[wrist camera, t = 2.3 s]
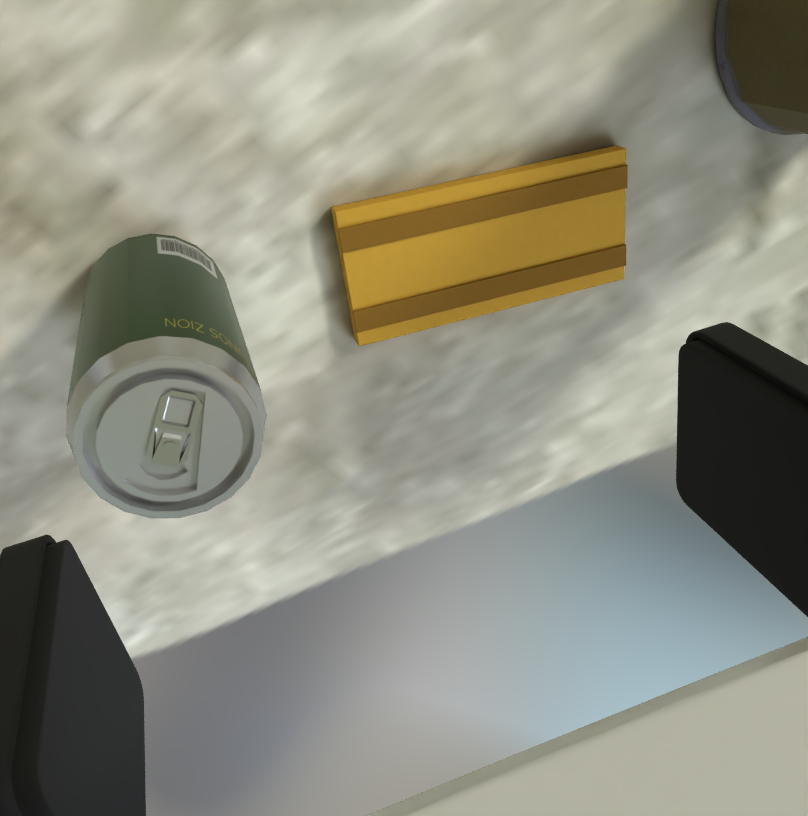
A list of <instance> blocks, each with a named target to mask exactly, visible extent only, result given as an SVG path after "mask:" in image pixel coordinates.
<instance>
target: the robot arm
mask: <svg viewBox="0 0 808 816" xmlns="http://www.w3.org/2000/svg"><path fill="white" fill-rule="evenodd" d="M676 472H677V473H676V482H677V489H678V492H679V494H680V496H681V498H682V500H683V501H684V502H685V503H686V505H687V506H688V507H690V508H691V509H692V510H693V511H694V512H695V513H696V514H697V515H698V516H699V517H700V518H701V519H702V520H704V521H705V522H706V523H707V524H708V525H709V526H710V527H711V528H713V530H714V531H715V532H717V533H718V534H719V535H720V536H721V537H722V538H723V539H724V540H725V541H726V542H727V543H728V544H729V545H731V546H732V547H733V548H734V549H735V550H736V551H737V552H738V553H739V554H740V555H741V556H742V557H743V558H745V559H746V560H747V561H748V562H749V563H750V564H751V565H752V566H753V567H754V568H755V569H756V570H758V571H759V572H760V573H761V574H762V575H763V576H764V577H765V578H766V579H767V580H768V581H769V582H770V583H772V584H773V585H774V586H775V587H776V588H777V589H778V590H779V591H780V592H781V593H782V594H783V595H785V596H786V597H787V598H788V599H789V600H790V601H791V602H792V603H793V604H794V605H795V606H797V607H798V608H799V609H800V610H801V611H802V612H803V613H804V614H805V615H806V616H807V617H808V365H806V364H804V363H802V362H800V361H799V360H797V359H795V358H793V357H791V356H789V355H788V354H786V353H784V352H782V351H780V350H779V349H777V348H775V347H773V346H771V345H770V344H768V343H766V342H764V341H762V340H761V339H759V338H757V337H755V336H753V335H752V334H750V333H748V332H746V331H744V330H743V329H741V328H739V327H737V326H735V325H734V324H731V323H728V322H725V323H720V324H717V325H714V326H711V327H708V328H704V329H701V330H698V331H695V332H692V333H691V334H690V335H689V336H688V338H687V340H686V344H684V345H683V346H682V347H681V348H680V350H679V364H678V416H677V470H676ZM144 748H145V745H144V697H143V689H142V684H141V681H140V678H139V675H138V672H137V670H136V668H135V666H134V664H133V662H132V660H131V658H130V656H129V654H128V652H127V651H126V649H125V647H124V645H123V643H122V641H121V639H120V637H119V635H118V633H117V631H116V629H115V627H114V625H113V623H112V621H111V619H110V617H109V616H108V614H107V612H106V610H105V608H104V606H103V604H102V602H101V600H100V598H99V596H98V594H97V592H96V590H95V588H94V586H93V584H92V582H91V581H90V579H89V577H88V575H87V573H86V571H85V569H84V567H83V565H82V563H81V561H80V559H79V557H78V555H77V553H76V551H75V549H74V548H73V546H72V544H71V543H70V542H69V541H68V540H64V541H61V542H57V543H56V542H55V540H54V539H53V538H52V537H51V536H50V535H44V536H41V537H38V538H34V539H31V540H28V541H25V542H22V543H19V544H15V545H12V546H9V547H6V548H4V549H3V550H2V553H1V555H0V816H146V804H145V749H144ZM366 816H808V637H806V638H804V639H801V640H799V641H796V642H794V643H791V644H789V645H786V646H784V647H781V648H779V649H776V650H774V651H771V652H769V653H766V654H764V655H761V656H759V657H756V658H753V659H751V660H748V661H746V662H743V663H741V664H739V665H736V666H734V667H731V668H728V669H726V670H724V671H721V672H718V673H716V674H713V675H711V676H708V677H706V678H703V679H701V680H698V681H696V682H693V683H691V684H688V685H686V686H683V687H681V688H678V689H676V690H673V691H671V692H669V693H666V694H664V695H661V696H659V697H656V698H654V699H651V700H649V701H646V702H644V703H641V704H639V705H636V706H634V707H631V708H629V709H626V710H624V711H621V712H619V713H617V714H614V715H611V716H609V717H606V718H604V719H602V720H599V721H597V722H594V723H592V724H589V725H587V726H584V727H582V728H579V729H577V730H574V731H572V732H570V733H567V734H565V735H562V736H560V737H557V738H555V739H552V740H550V741H547V742H545V743H542V744H540V745H537V746H535V747H532V748H530V749H528V750H525V751H523V752H520V753H518V754H515V755H513V756H510V757H508V758H505V759H503V760H500V761H498V762H495V763H493V764H491V765H488V766H486V767H483V768H481V769H478V770H476V771H474V772H471V773H469V774H466V775H464V776H462V777H459V778H457V779H454V780H452V781H449V782H447V783H444V784H442V785H440V786H437V787H435V788H432V789H430V790H427V791H425V792H422V793H420V794H418V795H415V796H413V797H410V798H408V799H405V800H403V801H400V802H398V803H396V804H393V805H391V806H388V807H386V808H383V809H381V810H379V811H376V812H374V813H371V814H369V815H366Z"/></svg>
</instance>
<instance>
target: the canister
mask: <svg viewBox="0 0 808 816" xmlns="http://www.w3.org/2000/svg"><path fill="white" fill-rule="evenodd" d="M715 40H716V56H717V63H718V68H719V73H720V76H721V79H722V81H723V84H724V87H725V89H726V92H727V94H728V97H729V100H730V102H731V103H732V104H733V105H734V107H735V108H736V109H737V110H738V111H739V113H740V114H741V115H742V116H743V117H744V118H745V119H746V120H748V121H749V122H750V123H752V124H753V125H754V126H757V127H759V128H761V129H764V130H766V131H769V132H771V133H776V134H782V135H791V134H802V133H806V134H808V0H720V1H719V4H718V9H717V19H716V29H715Z"/></svg>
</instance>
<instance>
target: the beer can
mask: <svg viewBox="0 0 808 816" xmlns="http://www.w3.org/2000/svg"><path fill="white" fill-rule="evenodd" d="M265 423H266V411H265V407H264V402H263V398H262V394H261V389H260V386H259V383H258V380H257V377H256V374H255V371H254V368H253V365H252V362H251V359H250V356H249V353H248V350H247V347H246V343H245V340H244V337H243V334H242V331H241V328H240V325H239V322H238V319H237V316H236V313H235V310H234V307H233V304H232V300H231V297H230V294H229V291H228V288H227V285H226V282H225V279H224V277H223V275H222V274H221V272H220V270H219V269H218V267H217V266H216V264H215V262H214V261H213V259H211V258H210V257H209V256H208V255H207V254H205V253H204V252H203V251H202V250H201V249H200V248H198V247H197V246H196V245H194V244H191V243H189V242H187V241H184V240H182V239H180V238H177V237H175V236H167V235H158V234H147V235H142V236H137V237H132V238H128V239H126V240H124V241H122V242H120V243H119V244H117V245H115V246H113V247H111V248H109V249H108V250H107V251H106V252H105V253H104V254H103V256H102V257H101V258H100V259H99V260H98V261H97V262H96V263H95V264H94V266H93V268H92V271H91V273H90V276H89V278H88V281H87V283H86V286H85V293H84V299H83V306H82V312H81V319H80V325H79V332H78V338H77V345H76V351H75V358H74V364H73V371H72V377H71V384H70V390H69V397H68V403H67V427H66V436H67V439H68V442H69V444H70V447H71V449H72V452H73V455H74V457H75V460H76V462H77V465H78V467H79V470H80V473H81V475H82V478H83V479H84V480H85V481H86V482H87V483H88V485H89V486H90V487H91V488H92V489H93V490H94V491H95V492H96V493H97V495H98V496H99V497H100V498H102V499H103V500H105V501H107V502H109V503H110V504H112V505H114V506H115V507H117V508H119V509H121V510H122V511H124V512H128V513H132V514H136V515H140V516H144V517H148V518H182V517H186V516H189V515H193V514H197V513H201V512H204V511H208V510H209V509H211V508H213V507H215V506H216V505H218V504H220V503H222V502H223V501H225V500H227V499H229V498H230V497H232V496H233V495H234V494H235V493H236V492H237V491H238V490H239V489H240V488H241V486H242V485H243V484H244V483H245V482H246V481H247V480H248V479H249V478H250V476H251V474H252V472H253V470H254V468H255V466H256V464H257V462H258V460H259V458H260V456H261V448H262V442H263V438H264V430H265Z"/></svg>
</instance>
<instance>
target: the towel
mask: <svg viewBox="0 0 808 816" xmlns="http://www.w3.org/2000/svg"><path fill="white" fill-rule="evenodd" d="M625 188H627V165H626V148H623V147H620V146H612V147H607V148H602V149H598V150H593V151H588V152H584V153H579V154H575V155H570V156H565V157H561V158H556V159H551V160H547V161H542V162H538V163H533V164H528V165H524V166H519V167H515V168H510V169H505V170H501V171H496V172H491V173H487V174H482V175H478V176H473V177H468V178H464V179H459V180H454V181H450V182H445V183H441V184H436V185H431V186H427V187H422V188H417V189H413V190H408V191H404V192H399V193H394V194H390V195H385V196H380V197H376V198H371V199H367V200H362V201H357V202H353V203H348V204H343V205H339V206H334V207H331V212H332V217H333V223H334V228H335V234H336V239H337V245H338V250H339V256H340V262H341V267H342V273H343V278H344V284H345V289H346V295H347V300H348V306H349V311H350V317H351V323H352V328H353V334H354V339H355V341H356V342H357V344H358V345H359V346H362V345H366V344H370V343H374V342H378V341H382V340H386V339H389V338H393V337H397V336H401V335H405V334H409V333H413V332H417V331H421V330H425V329H429V328H433V327H437V326H441V325H445V324H448V323H452V322H456V321H460V320H464V319H468V318H472V317H476V316H480V315H484V314H488V313H492V312H496V311H500V310H503V309H507V308H511V307H515V306H519V305H523V304H527V303H531V302H535V301H539V300H543V299H547V298H551V297H555V296H559V295H562V294H566V293H570V292H574V291H578V290H582V289H586V288H590V287H594V286H598V285H602V284H606V283H610V282H614V281H617V280H621V279H624V266H626V245H625Z"/></svg>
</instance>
